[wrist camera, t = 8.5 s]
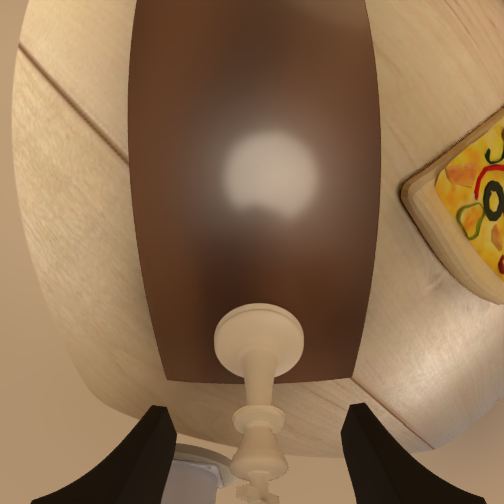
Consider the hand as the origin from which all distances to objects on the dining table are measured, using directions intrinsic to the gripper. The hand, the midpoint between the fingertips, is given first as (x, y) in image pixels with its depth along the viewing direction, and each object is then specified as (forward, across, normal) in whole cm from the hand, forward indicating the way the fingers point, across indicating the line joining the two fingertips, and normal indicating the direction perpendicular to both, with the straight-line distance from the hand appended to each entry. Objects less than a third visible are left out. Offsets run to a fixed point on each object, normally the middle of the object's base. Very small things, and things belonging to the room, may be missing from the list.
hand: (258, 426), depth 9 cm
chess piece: (+6, 0, 0) cm, 6 cm away
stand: (+9, 0, -17) cm, 19 cm away
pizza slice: (+9, -20, -11) cm, 24 cm away
